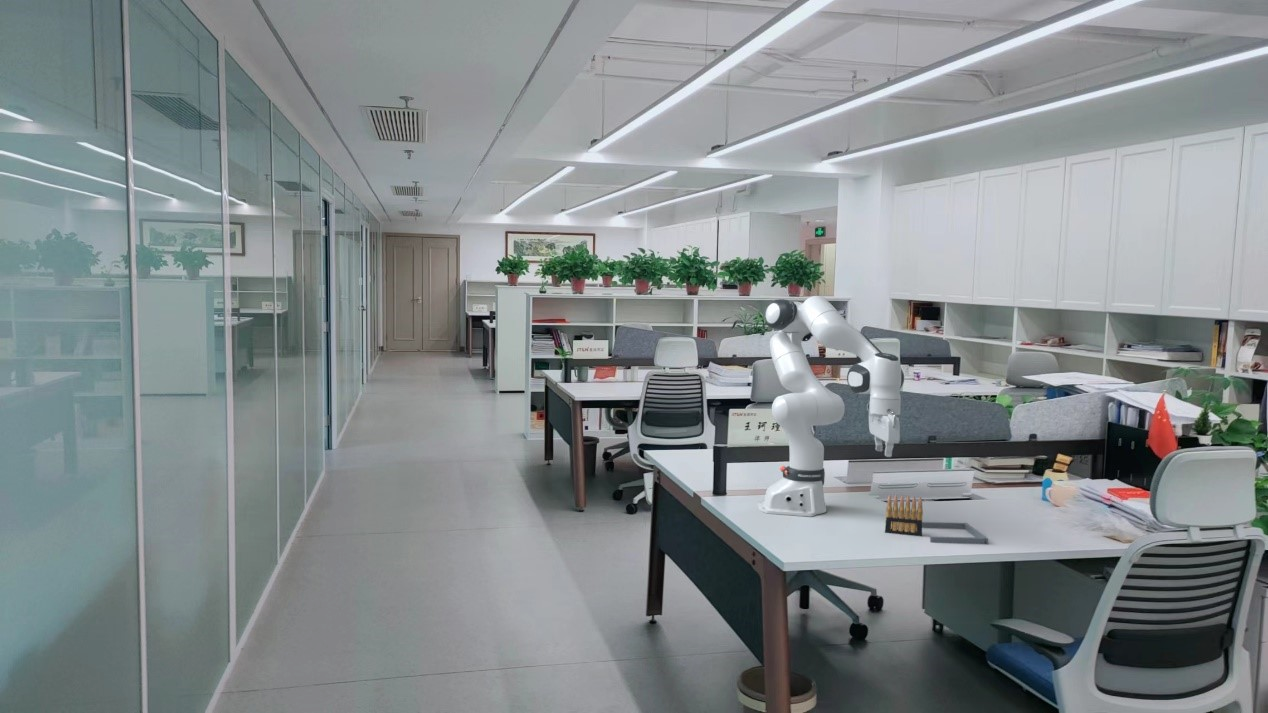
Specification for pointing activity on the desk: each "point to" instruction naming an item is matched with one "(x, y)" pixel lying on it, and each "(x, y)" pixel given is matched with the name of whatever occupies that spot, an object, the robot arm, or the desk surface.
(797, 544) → the desk surface
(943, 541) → the grey frame
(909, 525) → the ammunition clip
